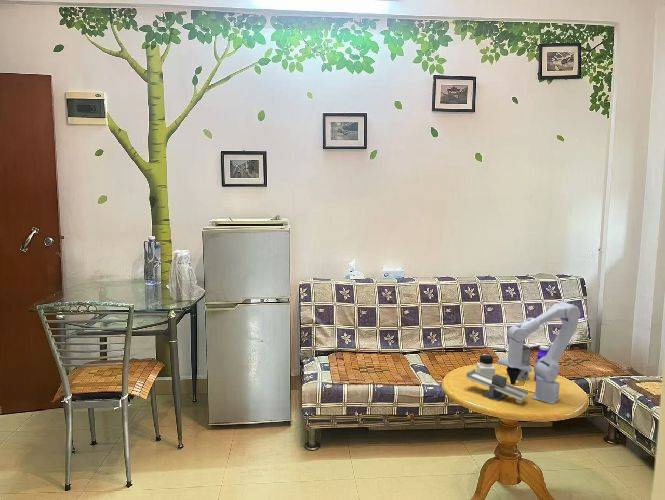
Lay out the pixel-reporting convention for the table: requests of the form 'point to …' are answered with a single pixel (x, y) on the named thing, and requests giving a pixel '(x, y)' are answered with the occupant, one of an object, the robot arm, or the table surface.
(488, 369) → the medicine bottle
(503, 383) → the block
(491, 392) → the pivot stand
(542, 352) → the bottle
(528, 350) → the coffee box
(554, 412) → the table surface
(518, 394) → the beam
